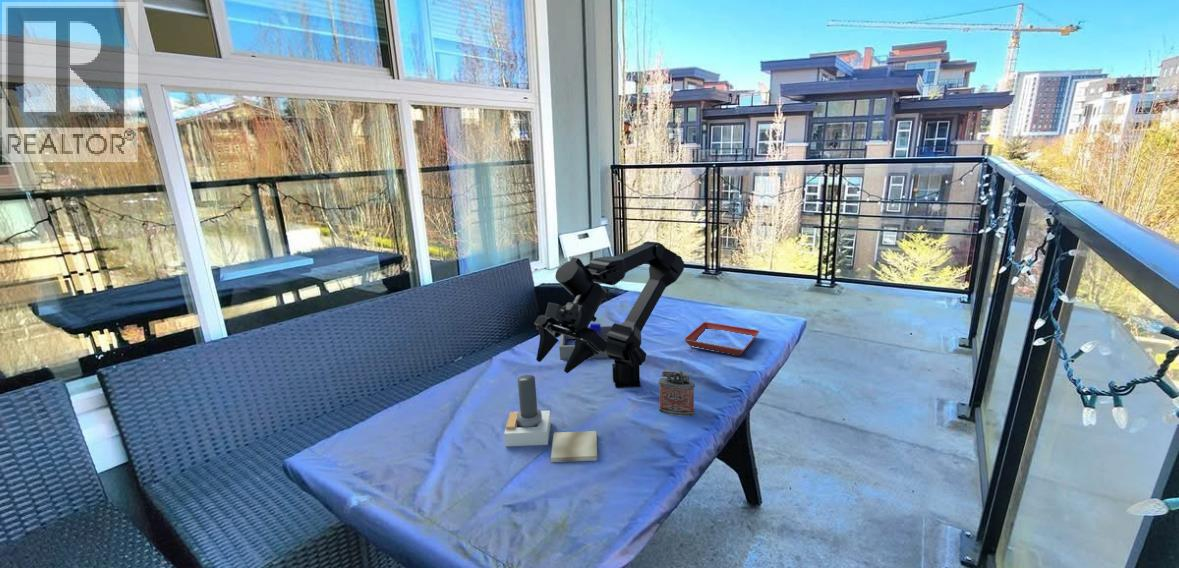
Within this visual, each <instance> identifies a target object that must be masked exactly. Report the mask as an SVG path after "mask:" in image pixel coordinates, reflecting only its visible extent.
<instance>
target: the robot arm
mask: <svg viewBox="0 0 1179 568" xmlns="http://www.w3.org/2000/svg"><path fill="white" fill-rule="evenodd" d="M590 260H591V261H590V262H589V263H587V264H586V265H584V264H583V261H582V260H581V259H580V258H579V257H571V258H570V261H567V262H565V263H563V264H562V265H560V267H558V268H557V270H556V271H555V277H554V278H555V280H556V282H558V283H559V285H561V287H563V288H564V289H565V290H566V291H567V292H568V293H569V294H570V295H571V296H574V300H573V301H572V302H571V301H568V302H567V303H566V304H565V305H562V304H557V303H554V302H548V303H547V307H546V310H545V314H542V315H541V314H540V315H538V316H537V317H536V318H535V321H534V323H533V324H534V325H535V326H536V330H538V332H539V344H538V348H537V354H536V361H537V362H539V363H541V362H542V361H543V360H544V359H545V358H546V356H547V355H548V354H549V353H550V351H551V350H552V349H553V347H554V346H555V345H557V343H558V342H559V339H558V338H559V337H561V334H563V335H566V336H569V337H572V338H575V340H574V345H575V348H574V350H573V352H572V354H571V356H570V358H569V359H567V362H566V364H565V367H564V370H563V371H564V372H565V373H566V374H569V373H570V372H572V371H573V370H574V369H575V368H576V367H579V365H581V364H583V363H584V362H585V361H587V360H588V359H591V358H590V357H592V356H593V355H598V352H601V353H604V351H605V350H606V352H607V355H608V358H607V359H609V360H614V361H613V362H614V363H612V364H611V367H612V368H611V370H612V372H611V373H612V382H613V383H614V385H615V388H616V389H617V388H618V389H619V388H622V389H623V388H640V387H642V384H641V376H640V373H641V372H640V371H641V370H640V369H641V367H640V366H642V365H643V363H646V359H647V352H646V351H645V350H643V349H642V348H641V345H642V331H643V329H644V326H645V325H646V323H647V321H648V319H649V318H650V316H651V314H652V313H653V311H654V309H655V307H656V306H657V304H658V302H659V301H660V298H661V296H662V295H663V293H664V291H665V289H666V288H667V287H669V286H670V285H672V284H674V283H676V282H677V280H678V279H679V278H680V276H681V275H682V274H683V271H684V270H685V262H684V260H683V258H682V257H681V256H680V255H678V254H677V253H676V252H674V251H672V250H670V249H668V248H667V247H665V245H663V244H662V243H660V242H655V241H649V240H648V241H644V242H643V243H642V244H640V245H637V246H635V247H633V248H631V249H628V250H626V251H624V252H621V253H619V254H617V255H614V256H613V255H611V256H601V257H595V258H593V259H590ZM644 264H647V265H649V266H648V275H649V278H648V280H647V282H646V283H645V285H644V287H643V289H642V290H641V292H640V293H639V296H638V297H637V299H636V301H635V302H634V303H633V306H632V307H631V309H630V311H629V312H628V314H627V317H626V318H625V320H624V321H623V322H621V323H617V322H614V323H612V327H611V329H610V331H609V333H608V334H607V335H606V336H607V338H604V337H603V336H602V335H600V334H599V333H598V332H597V331H595V330H592V329H589V328H588V326H590V325H591V322H593V323H595V322H596V320H597V316H595V315H596V313H597V311H598V309H599V308H600V306H601V303H602V301H604V300H605V301H611V295H610V290H609V289H610V288H606V287H603V286H602V285H603V284H604V285H606V286H607V285H608V286H615V285H616V284H618V283H619V282H621V281H622V280H624V278H625V277H626V274H627V273H628V272H631V270H634V269H636V268H638V267H640V266H643V265H644ZM601 284H602V285H601ZM566 331H568V332H566ZM597 351H598V352H597Z"/></svg>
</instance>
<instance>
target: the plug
mask: <svg viewBox="0 0 1179 568" xmlns="http://www.w3.org/2000/svg"><path fill="white" fill-rule="evenodd" d="M517 386H518V387H517V388H518V397H519V398H518V400H519V411H517V412H518V413H517V422H518V424H519V425H521V426H522V427H537V426H538V424H539V423H540V422H541V421H542V414H541V411H542V410H540V409H539V408H538V402H537V401H538V400H537V398H538V397H537V390H536V389H537V385H536V377H535V376H534V375H532V374H523V375H521V376H519V377H517Z"/></svg>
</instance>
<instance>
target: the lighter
mask: <svg viewBox="0 0 1179 568" xmlns="http://www.w3.org/2000/svg"><path fill="white" fill-rule="evenodd" d="M658 385H659V406H658V412H660V413H662V414H666V415H672V416H679V417H693V416H694V415H695V407H694V406H695V405H694V404H695V398H694V397H695V387H696V384H695V381H693V380H690V373H689V372H682V370H680V369H678V370H676V371H673V370H668V369H667V370H666V369H663V370H662V371H661V378H659V379H658Z"/></svg>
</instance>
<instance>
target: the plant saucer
mask: <svg viewBox="0 0 1179 568" xmlns="http://www.w3.org/2000/svg"><path fill="white" fill-rule="evenodd" d="M705 329H715V330H724V331H730V332H735V333H741V334H746V335H752V336H754V337H753V338H752V340H751V341H750V342H749V343H748V344H747V345H746V347H745V348H744V349H743V350H741V349H736V348H730V347H725V346H719V345H714V344H708V343H703V342H697V341H696V340H697V339H698V337H699V336H700V335H701V334H702V333H703V332H704V331H705ZM759 333H760V330H758V329H753V328H752V329H751V328H746V327H740V326H739V327H738V326H733V325H726V324H720V323H715V322H714V323H713V322H707V321H705V322H702V323H701V324H700V325H698V327H696V328H695V329H694V330H692V332H690V333H689V334H688V335H686V336H685V337H684V342H686V343H687V345H688V346H689V347H691V346H694V347H699V348H704V349H709V350H714V351H719V352H724V353H729V354H728V355H730V354H734V355H733V356H735V355H739V356H740V355H742V353H744V351H745V350H746V349H747V348H748V346H749V345H750V344H751V343H752V342H753V341H754V340H755V338H756V337H757V336H758V335H759ZM719 352H718V353H719ZM724 353H723V354H724Z"/></svg>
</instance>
